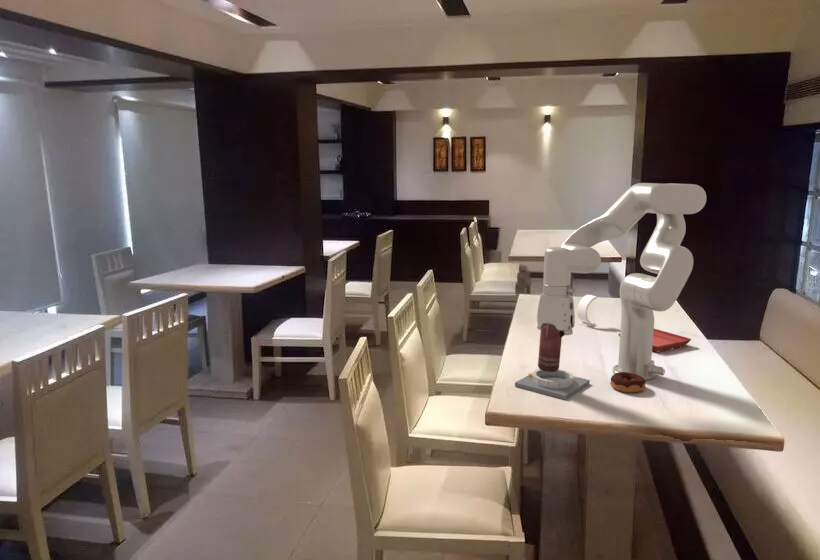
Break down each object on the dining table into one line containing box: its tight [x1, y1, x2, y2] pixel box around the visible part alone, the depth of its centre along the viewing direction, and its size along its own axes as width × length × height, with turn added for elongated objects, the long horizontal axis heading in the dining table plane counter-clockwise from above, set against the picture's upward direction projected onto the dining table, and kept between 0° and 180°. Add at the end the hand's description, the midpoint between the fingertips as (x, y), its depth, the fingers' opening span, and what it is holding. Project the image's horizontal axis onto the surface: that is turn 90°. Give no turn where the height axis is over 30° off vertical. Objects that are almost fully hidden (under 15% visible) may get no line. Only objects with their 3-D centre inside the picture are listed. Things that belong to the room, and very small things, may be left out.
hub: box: [514, 368, 591, 401], centre depth 174 cm, size 16×16×3 cm
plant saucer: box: [617, 328, 692, 353], centre depth 214 cm, size 18×18×3 cm
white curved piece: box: [576, 294, 598, 328], centre depth 239 cm, size 5×6×12 cm
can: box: [537, 324, 563, 372], centre depth 173 cm, size 6×6×14 cm
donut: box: [609, 372, 647, 394], centre depth 172 cm, size 10×10×4 cm
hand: (553, 351), depth 173 cm, fingers closed
